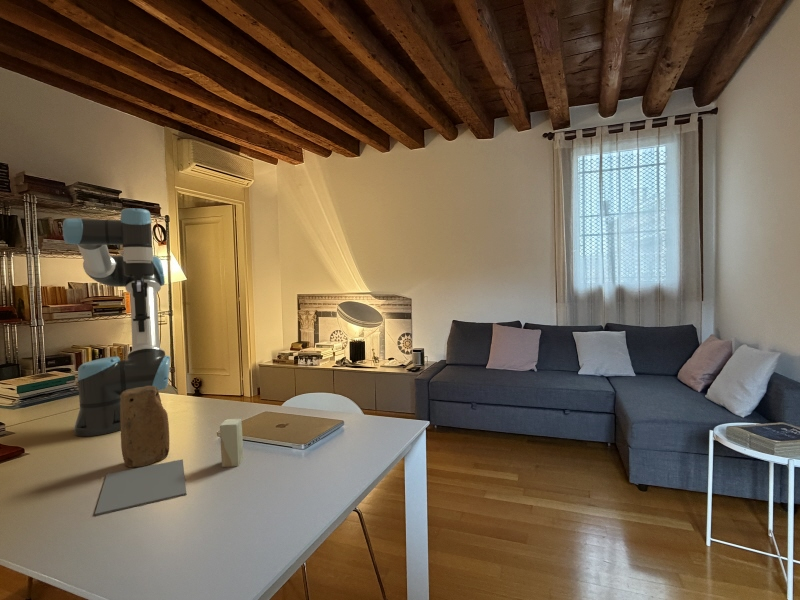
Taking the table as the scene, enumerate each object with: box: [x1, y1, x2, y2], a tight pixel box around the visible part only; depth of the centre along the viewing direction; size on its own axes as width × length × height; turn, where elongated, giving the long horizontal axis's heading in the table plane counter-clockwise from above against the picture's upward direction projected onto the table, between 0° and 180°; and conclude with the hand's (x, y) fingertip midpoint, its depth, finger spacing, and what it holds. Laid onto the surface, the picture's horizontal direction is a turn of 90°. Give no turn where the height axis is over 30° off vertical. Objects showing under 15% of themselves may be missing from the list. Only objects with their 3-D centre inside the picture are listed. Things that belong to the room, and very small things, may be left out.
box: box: [219, 418, 244, 468], centre depth 115 cm, size 5×4×11 cm
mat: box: [94, 459, 188, 517], centre depth 104 cm, size 22×17×1 cm
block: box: [120, 386, 170, 468], centre depth 118 cm, size 11×8×20 cm
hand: (142, 342), depth 129 cm, fingers open, 4 cm apart
